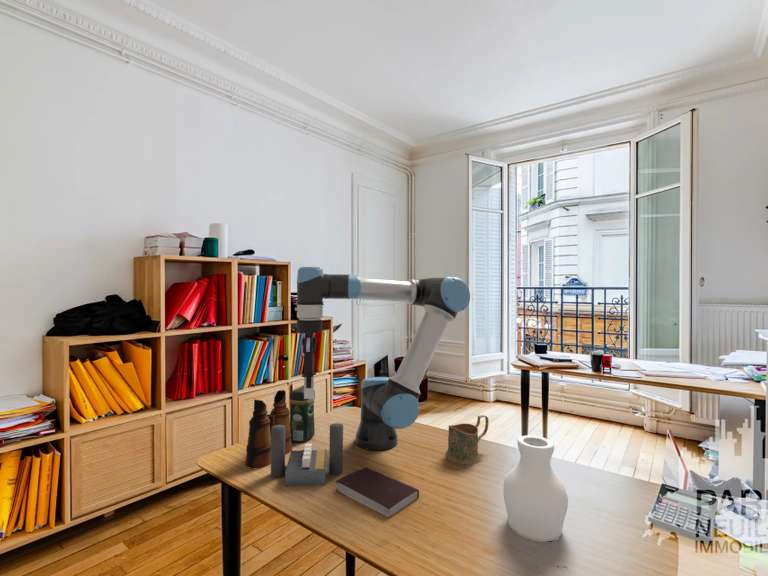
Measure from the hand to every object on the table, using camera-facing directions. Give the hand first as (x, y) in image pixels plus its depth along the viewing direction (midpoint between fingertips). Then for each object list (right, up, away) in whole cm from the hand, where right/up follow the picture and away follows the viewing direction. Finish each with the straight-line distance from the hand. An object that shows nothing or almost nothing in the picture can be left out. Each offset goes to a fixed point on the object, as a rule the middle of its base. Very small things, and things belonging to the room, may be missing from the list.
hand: (308, 398), depth 117 cm
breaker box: (-1, -22, 0) cm, 22 cm away
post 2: (+8, -23, +1) cm, 24 cm away
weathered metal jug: (+51, -23, +15) cm, 58 cm away
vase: (+58, -24, -24) cm, 67 cm away
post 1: (-9, -22, -1) cm, 24 cm away
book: (+20, -24, -11) cm, 33 cm away
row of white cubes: (0, -18, 0) cm, 18 cm away
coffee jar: (-8, -23, +27) cm, 36 cm away
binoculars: (-15, -22, +11) cm, 29 cm away
